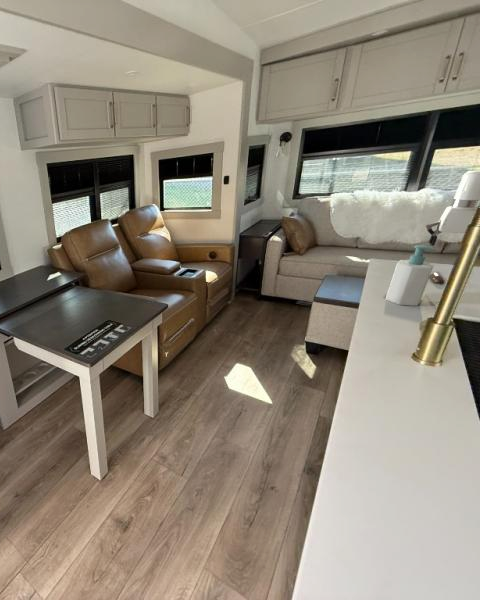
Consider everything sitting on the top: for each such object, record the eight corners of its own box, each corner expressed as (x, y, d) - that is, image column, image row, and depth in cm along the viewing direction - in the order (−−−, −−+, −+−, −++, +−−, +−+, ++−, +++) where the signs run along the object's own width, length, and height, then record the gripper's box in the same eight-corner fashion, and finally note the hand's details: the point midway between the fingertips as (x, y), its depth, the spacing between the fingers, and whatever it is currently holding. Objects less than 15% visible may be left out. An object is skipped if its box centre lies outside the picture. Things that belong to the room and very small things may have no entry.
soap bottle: (415, 308, 118) (437, 251, 109) (383, 301, 125) (401, 247, 116) (421, 300, 123) (442, 245, 115) (389, 294, 130) (407, 241, 122)
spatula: (418, 272, 148) (421, 266, 147) (437, 274, 145) (439, 267, 144) (428, 284, 135) (431, 278, 134) (449, 286, 132) (452, 280, 131)
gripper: (494, 203, 124) (475, 245, 131) (432, 202, 133) (417, 242, 140) (503, 205, 119) (482, 250, 125) (437, 204, 128) (421, 246, 135)
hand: (447, 245), depth 133 cm, fingers open, 9 cm apart
